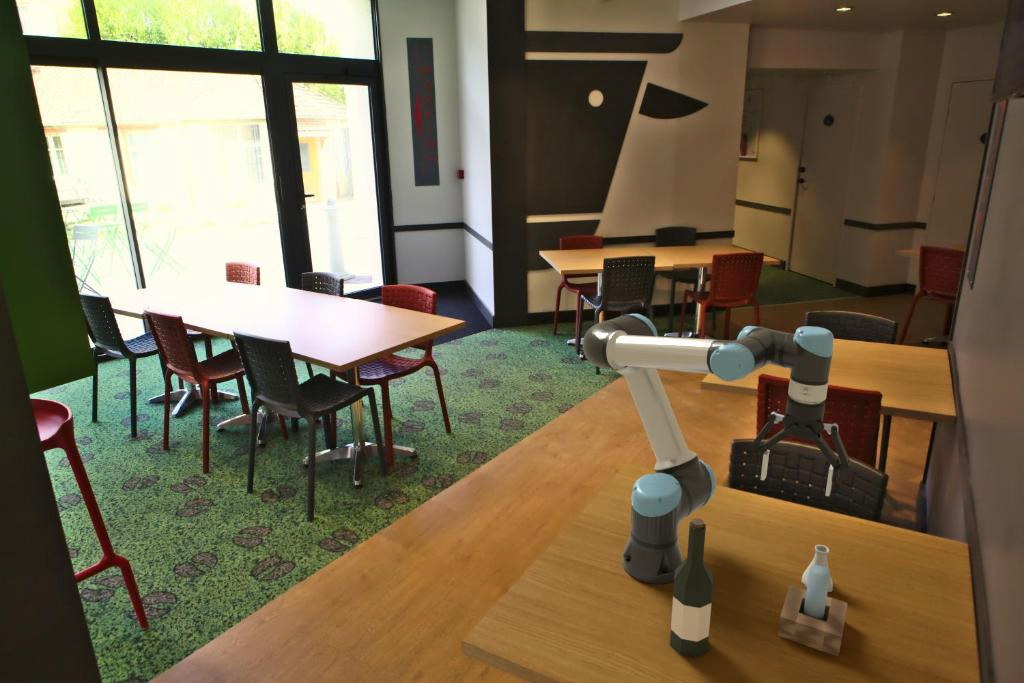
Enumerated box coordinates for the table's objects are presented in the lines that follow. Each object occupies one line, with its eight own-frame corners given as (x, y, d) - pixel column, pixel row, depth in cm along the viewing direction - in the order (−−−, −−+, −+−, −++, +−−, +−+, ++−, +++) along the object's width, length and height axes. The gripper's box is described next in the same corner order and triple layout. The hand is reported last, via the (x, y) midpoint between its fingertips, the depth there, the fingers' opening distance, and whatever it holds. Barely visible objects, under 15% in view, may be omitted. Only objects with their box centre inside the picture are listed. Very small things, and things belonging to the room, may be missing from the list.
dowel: (800, 627, 142) (808, 573, 138) (803, 616, 145) (811, 563, 141) (820, 634, 140) (829, 579, 136) (823, 622, 143) (831, 568, 139)
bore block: (777, 635, 141) (780, 616, 139) (787, 603, 151) (789, 585, 149) (838, 656, 135) (841, 637, 133) (844, 621, 145) (847, 602, 143)
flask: (837, 595, 153) (842, 559, 150) (804, 592, 154) (809, 556, 152) (829, 576, 160) (834, 541, 157) (797, 573, 161) (802, 538, 158)
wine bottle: (679, 624, 145) (687, 506, 136) (715, 641, 140) (726, 519, 131) (662, 645, 139) (669, 523, 130) (698, 664, 134) (709, 538, 125)
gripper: (742, 392, 143) (734, 478, 150) (870, 416, 131) (854, 508, 137) (750, 382, 149) (742, 464, 156) (873, 403, 137) (858, 492, 143)
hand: (794, 485), depth 146 cm, fingers open, 13 cm apart
